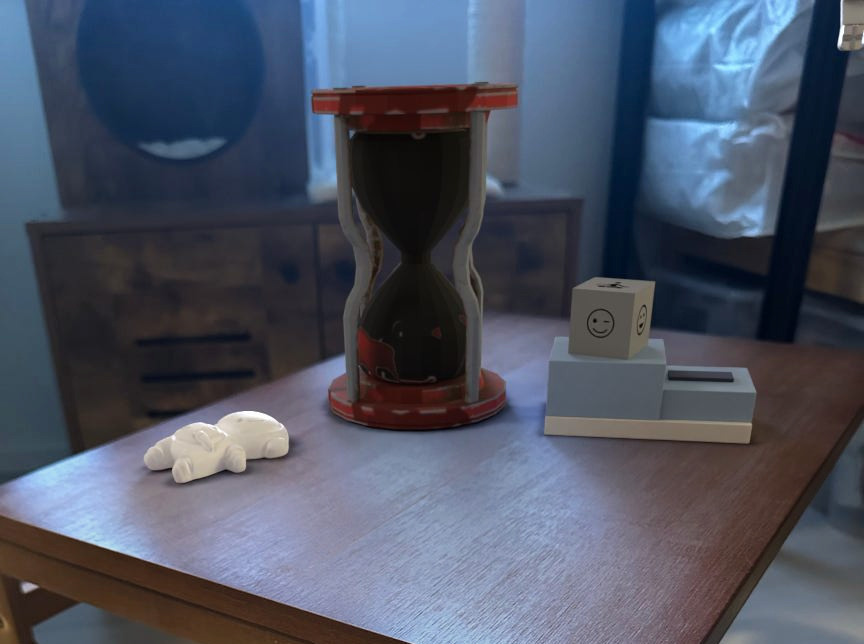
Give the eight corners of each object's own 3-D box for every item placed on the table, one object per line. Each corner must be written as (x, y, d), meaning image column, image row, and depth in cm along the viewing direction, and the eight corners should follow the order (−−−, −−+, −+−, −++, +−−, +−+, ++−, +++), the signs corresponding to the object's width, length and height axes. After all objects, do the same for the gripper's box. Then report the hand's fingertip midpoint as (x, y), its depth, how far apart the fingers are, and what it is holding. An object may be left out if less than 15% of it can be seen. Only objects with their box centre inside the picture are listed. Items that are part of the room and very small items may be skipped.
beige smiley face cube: (568, 353, 76) (572, 288, 74) (589, 339, 80) (594, 277, 77) (628, 359, 74) (635, 293, 71) (647, 345, 77) (655, 281, 75)
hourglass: (294, 401, 87) (270, 88, 74) (426, 369, 95) (425, 82, 83) (406, 445, 76) (400, 86, 63) (543, 403, 84) (563, 80, 72)
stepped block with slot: (738, 411, 81) (750, 340, 78) (749, 443, 74) (762, 367, 71) (551, 404, 84) (555, 335, 81) (544, 434, 77) (548, 361, 74)
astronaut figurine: (128, 461, 75) (121, 424, 73) (254, 426, 81) (250, 392, 80) (185, 491, 69) (179, 451, 67) (315, 451, 75) (313, 414, 74)
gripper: (1003, -225, 57) (943, 45, 64) (916, -158, 74) (876, 49, 81) (890, -213, 58) (844, 50, 65) (830, -151, 75) (798, 53, 82)
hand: (861, 49), depth 73 cm, fingers open, 8 cm apart
